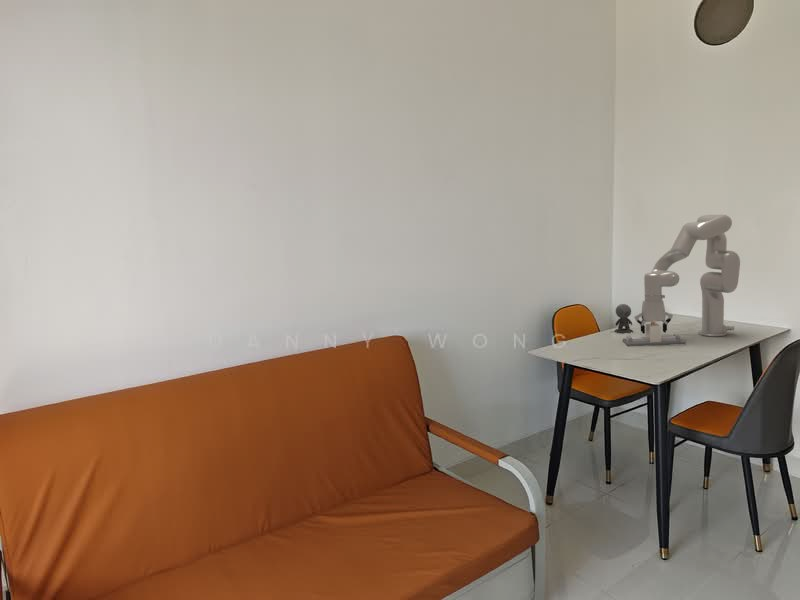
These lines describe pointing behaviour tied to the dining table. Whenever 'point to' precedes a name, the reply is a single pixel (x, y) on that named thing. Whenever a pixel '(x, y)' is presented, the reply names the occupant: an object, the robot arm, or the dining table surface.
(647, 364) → the dining table surface
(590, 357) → the dining table surface
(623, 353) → the dining table surface
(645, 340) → the rail plate
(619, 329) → the figurine
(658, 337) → the block
